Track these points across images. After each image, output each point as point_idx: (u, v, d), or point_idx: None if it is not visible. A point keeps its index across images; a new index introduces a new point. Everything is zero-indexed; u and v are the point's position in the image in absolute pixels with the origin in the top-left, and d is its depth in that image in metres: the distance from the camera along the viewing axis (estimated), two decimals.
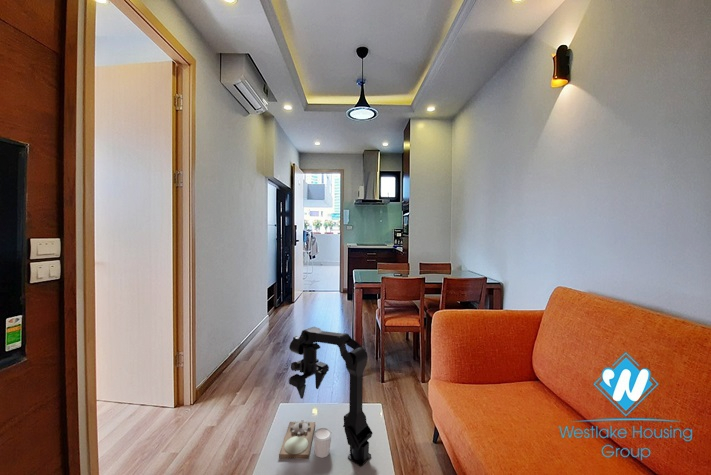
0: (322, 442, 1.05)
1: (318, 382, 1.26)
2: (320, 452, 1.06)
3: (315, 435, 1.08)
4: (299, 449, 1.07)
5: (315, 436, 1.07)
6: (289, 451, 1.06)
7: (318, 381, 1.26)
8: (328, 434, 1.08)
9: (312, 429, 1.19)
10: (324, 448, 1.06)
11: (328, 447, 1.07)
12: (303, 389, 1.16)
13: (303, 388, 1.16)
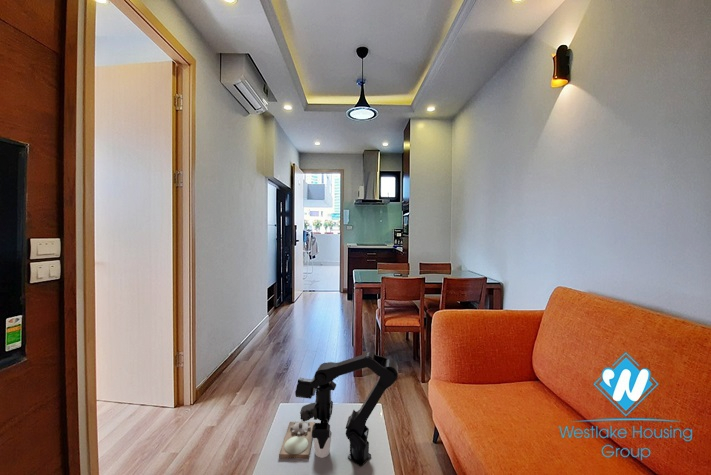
0: None
1: (326, 423, 1.13)
2: (320, 452, 1.06)
3: None
4: (299, 449, 1.07)
5: None
6: (289, 451, 1.06)
7: None
8: None
9: None
10: (324, 448, 1.06)
11: (328, 447, 1.07)
12: None
13: None
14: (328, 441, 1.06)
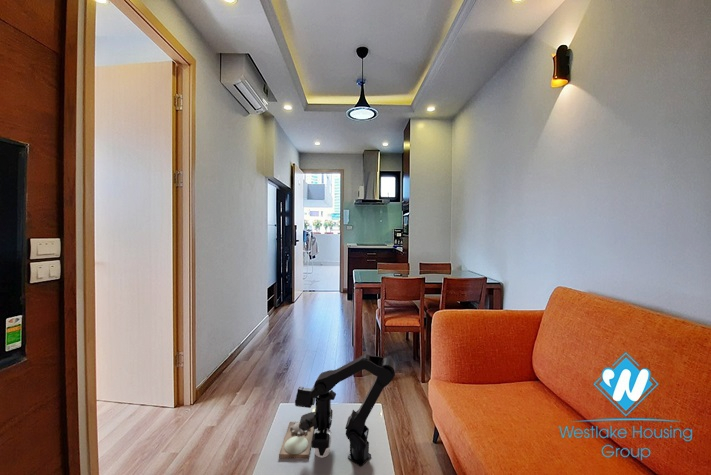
0: None
1: None
2: None
3: None
4: (299, 449, 1.07)
5: None
6: (289, 451, 1.06)
7: None
8: None
9: (312, 429, 1.19)
10: None
11: (328, 447, 1.07)
12: None
13: None
14: None
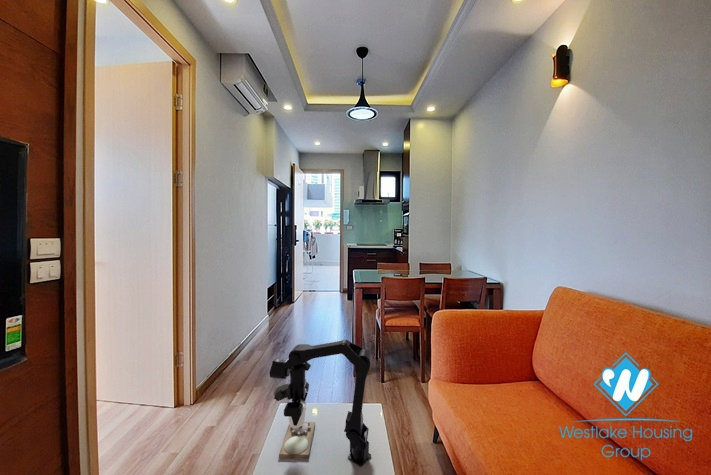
0: None
1: None
2: None
3: None
4: (299, 449, 1.07)
5: None
6: (289, 451, 1.06)
7: None
8: None
9: (312, 429, 1.19)
10: None
11: (302, 417, 1.08)
12: None
13: (301, 412, 1.05)
14: None
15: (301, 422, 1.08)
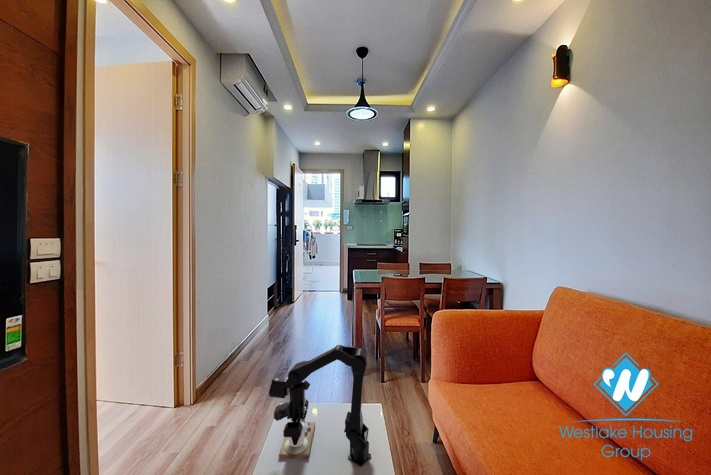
0: None
1: None
2: None
3: None
4: (299, 449, 1.07)
5: None
6: (289, 451, 1.06)
7: None
8: (302, 424, 1.09)
9: (312, 429, 1.19)
10: None
11: (302, 437, 1.08)
12: None
13: None
14: (302, 431, 1.08)
15: (301, 441, 1.08)
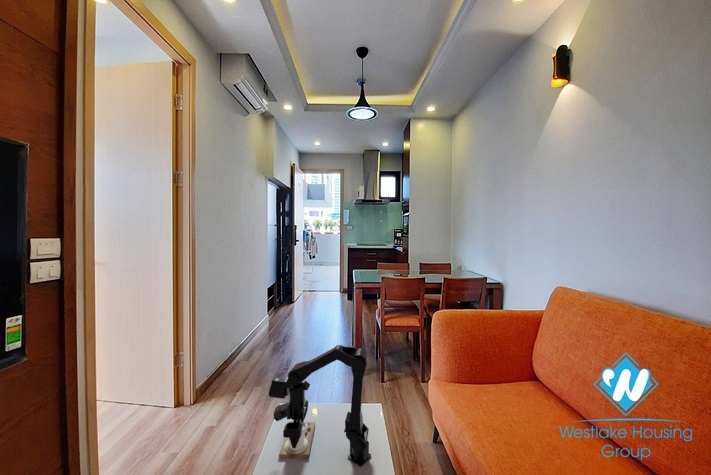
0: None
1: None
2: None
3: None
4: (299, 449, 1.07)
5: None
6: (289, 451, 1.06)
7: None
8: (302, 427, 1.09)
9: (312, 429, 1.19)
10: None
11: (302, 440, 1.08)
12: (300, 436, 1.04)
13: None
14: (301, 434, 1.08)
15: (301, 444, 1.08)
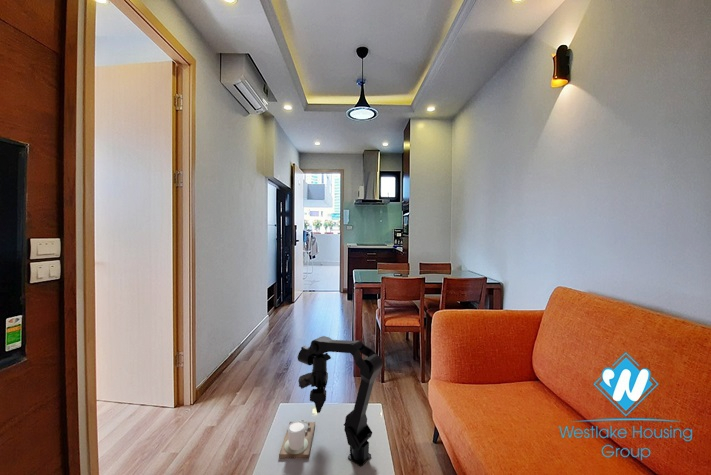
0: (295, 434, 1.06)
1: None
2: (293, 444, 1.07)
3: (289, 428, 1.09)
4: (299, 449, 1.07)
5: (289, 429, 1.08)
6: (289, 451, 1.06)
7: None
8: (302, 427, 1.09)
9: (312, 429, 1.19)
10: (297, 441, 1.07)
11: (302, 440, 1.08)
12: (324, 401, 1.12)
13: (324, 400, 1.12)
14: (301, 434, 1.08)
15: (301, 444, 1.08)
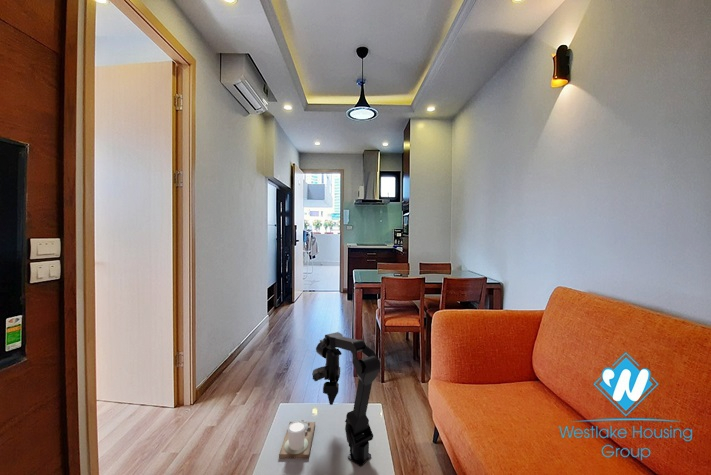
0: (295, 434, 1.06)
1: None
2: (293, 444, 1.07)
3: (289, 428, 1.09)
4: (299, 449, 1.07)
5: (289, 429, 1.08)
6: (289, 451, 1.06)
7: None
8: (302, 427, 1.09)
9: (312, 429, 1.19)
10: (297, 441, 1.07)
11: (302, 440, 1.08)
12: (336, 394, 1.17)
13: None
14: (301, 434, 1.08)
15: (301, 444, 1.08)
